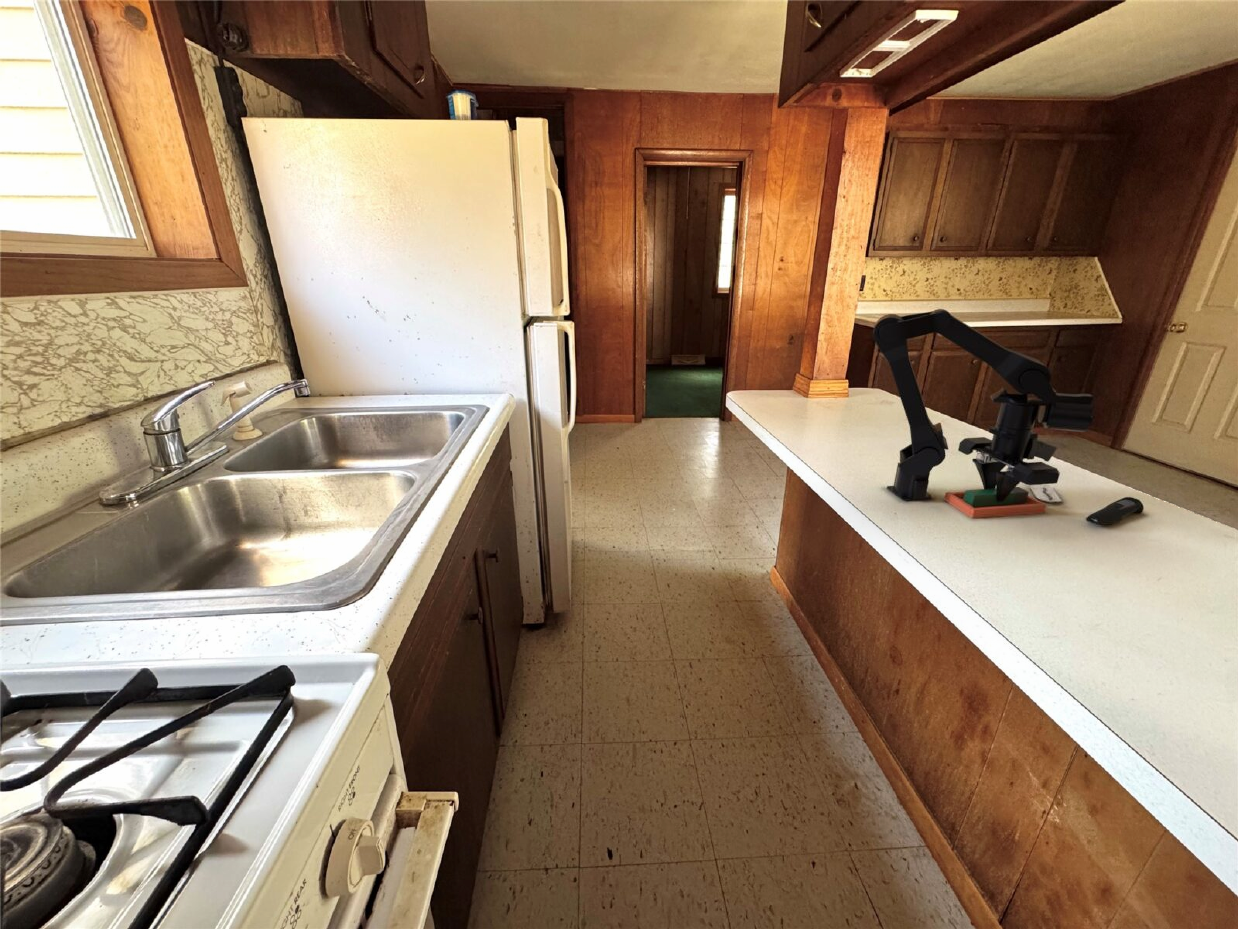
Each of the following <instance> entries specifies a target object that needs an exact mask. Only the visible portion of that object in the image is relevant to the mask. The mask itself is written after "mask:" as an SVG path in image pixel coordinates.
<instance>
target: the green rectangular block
mask: <svg viewBox="0 0 1238 929" xmlns="http://www.w3.org/2000/svg"><path fill="white" fill-rule="evenodd" d="M964 491H965V494H964V498H963V501H964V502H966V503H968V504H969V505H971V506H972V507H983V506H996V505H1010V504H1023V503H1026V500H1027V497H1028V495H1029V493H1030V492H1029V491H1028V490H1026V489H1024V488H1022V487H1020V486H1016V487H1015V488H1014V489H1013V490H1012V492H1011V493H1010V494H1009V495H1008V496H1007V497H1006V499H1005V500H1004V501H1003V502H998V501H997V497H996V488H992V489H984V488H981V489H980V488H979V489H966V490H964Z"/></svg>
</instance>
